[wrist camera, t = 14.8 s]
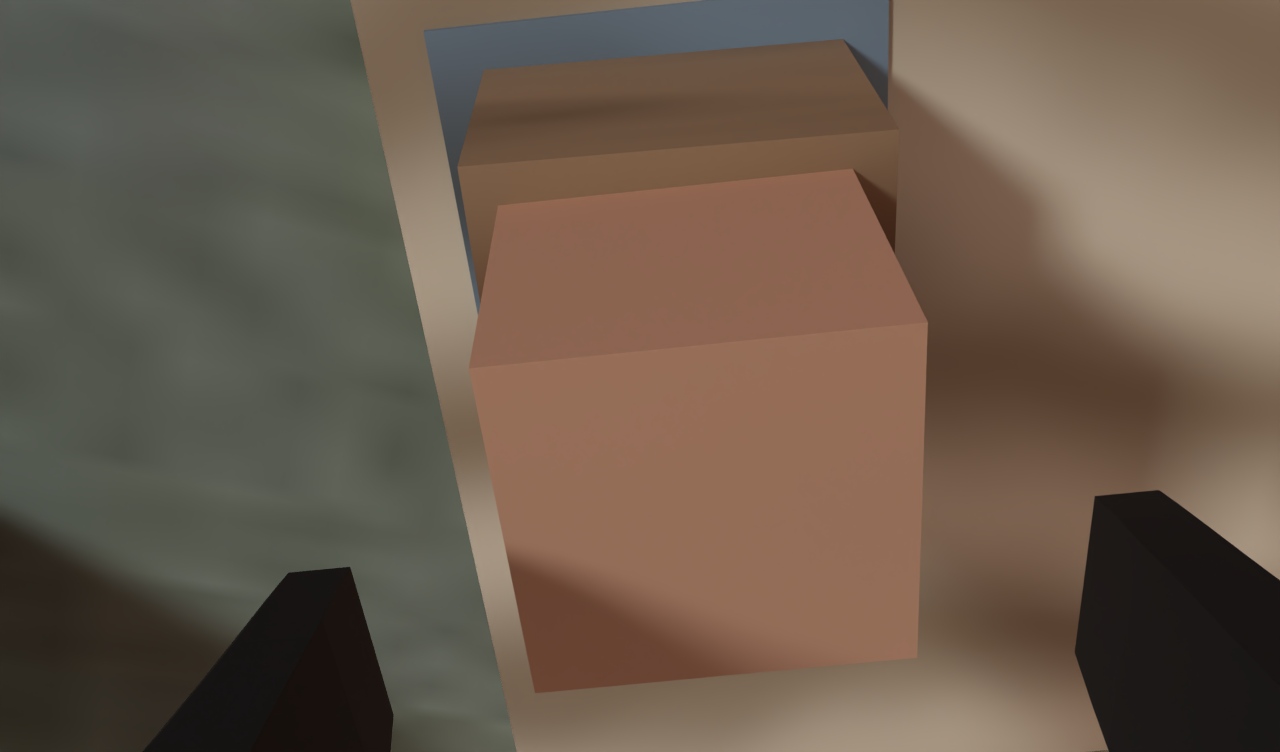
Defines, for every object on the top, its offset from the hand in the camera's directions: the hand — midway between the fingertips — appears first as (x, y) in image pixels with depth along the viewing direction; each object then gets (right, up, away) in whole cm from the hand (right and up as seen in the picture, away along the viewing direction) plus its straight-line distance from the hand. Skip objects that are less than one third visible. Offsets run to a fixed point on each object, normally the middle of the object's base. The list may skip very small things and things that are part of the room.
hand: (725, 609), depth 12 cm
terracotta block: (0, +3, +5) cm, 5 cm away
